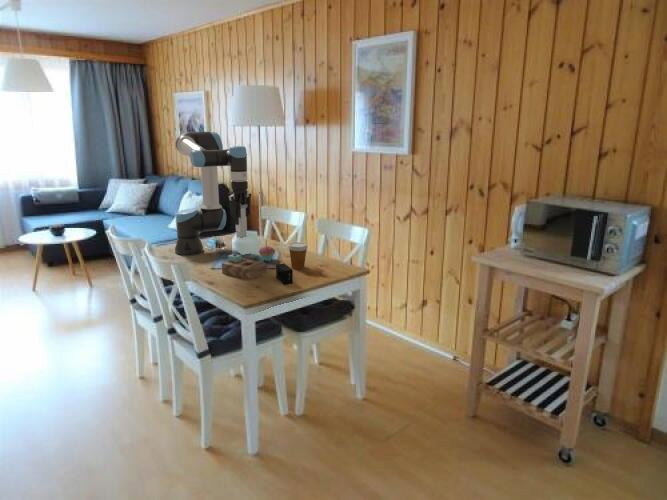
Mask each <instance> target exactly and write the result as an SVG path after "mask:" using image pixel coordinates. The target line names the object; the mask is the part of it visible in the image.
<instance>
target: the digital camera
mask: <svg viewBox="0 0 667 500" xmlns="http://www.w3.org/2000/svg"><path fill="white" fill-rule="evenodd" d="M293 274H294V270H293V268H292V267H290V266H288V264H286V263H284V262H283V263H278V264H277V263H276V264H275V279H276V280H277V281H279V282H280V283H281V284H282V285H284V286H286V285H293V284H294V283H293V281H294V279H293V278H294V277H293Z"/></svg>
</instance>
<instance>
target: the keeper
mask: <svg viewBox="0 0 667 500" xmlns="http://www.w3.org/2000/svg"><path fill="white" fill-rule="evenodd" d="M242 256H243V255H240V254H238V253H232V254H229V255H227V259H228V260H229V261H233V262H239V261H241V260H242V258H243V257H242Z"/></svg>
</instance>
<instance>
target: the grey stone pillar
mask: <svg viewBox="0 0 667 500" xmlns="http://www.w3.org/2000/svg"><path fill="white" fill-rule="evenodd" d="M245 208H247V204H240V205H239V209H240V213H239V218H241V232H239V231H236V238H238V237H240V238H243V237H247V230H246V211H245Z"/></svg>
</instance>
